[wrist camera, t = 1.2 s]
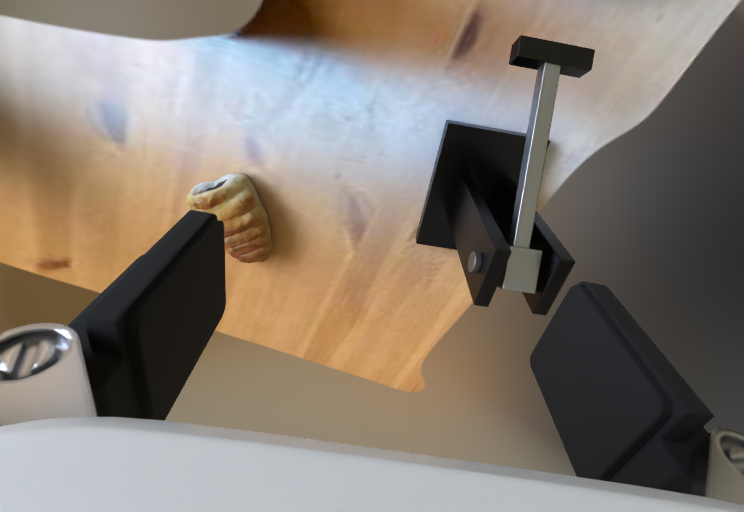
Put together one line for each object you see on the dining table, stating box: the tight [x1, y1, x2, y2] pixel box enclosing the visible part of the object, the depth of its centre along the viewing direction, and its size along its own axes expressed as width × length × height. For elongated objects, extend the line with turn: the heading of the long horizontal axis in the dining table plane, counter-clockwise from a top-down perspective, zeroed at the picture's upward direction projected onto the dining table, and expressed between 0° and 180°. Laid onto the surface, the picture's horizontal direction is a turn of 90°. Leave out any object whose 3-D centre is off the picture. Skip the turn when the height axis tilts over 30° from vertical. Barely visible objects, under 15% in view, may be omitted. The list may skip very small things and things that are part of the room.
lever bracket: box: [416, 120, 575, 315], centre depth 30 cm, size 12×9×15 cm
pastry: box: [187, 173, 273, 263], centre depth 37 cm, size 9×7×4 cm
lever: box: [497, 35, 595, 294], centre depth 25 cm, size 16×5×2 cm, turn 171°
